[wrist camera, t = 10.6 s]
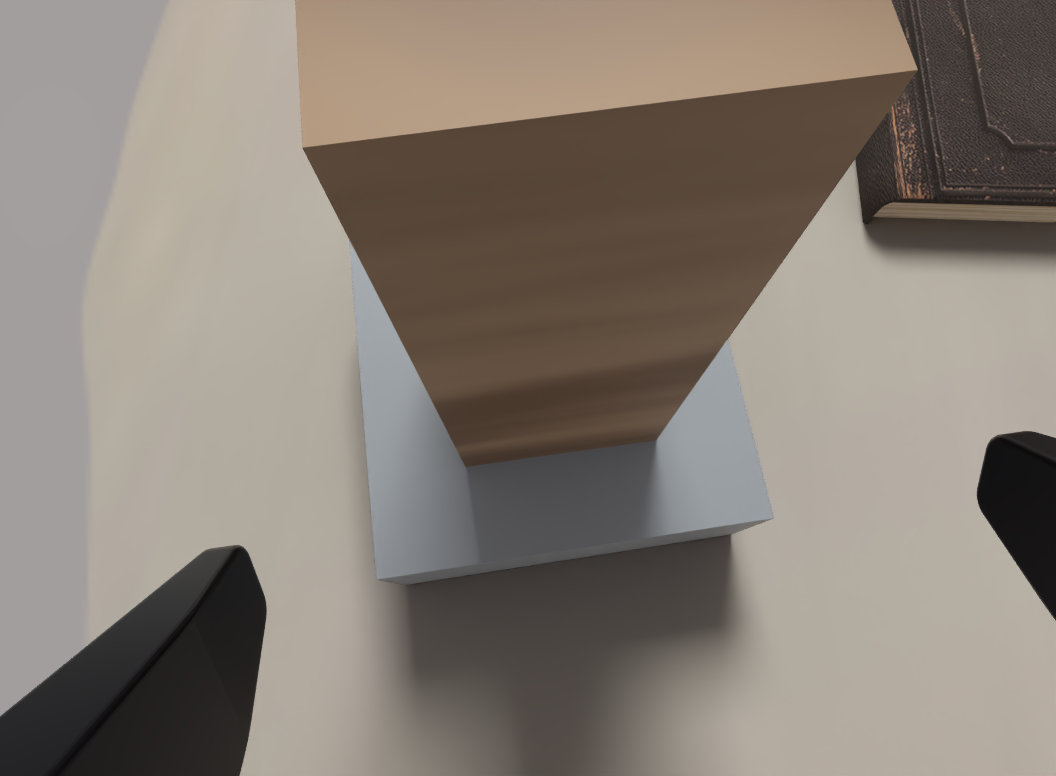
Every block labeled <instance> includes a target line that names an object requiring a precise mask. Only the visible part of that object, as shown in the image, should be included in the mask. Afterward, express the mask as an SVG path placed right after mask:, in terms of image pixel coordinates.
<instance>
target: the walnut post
mask: <svg viewBox="0 0 1056 776" xmlns="http://www.w3.org/2000/svg"><path fill="white" fill-rule="evenodd" d="M295 6H296V27H297V47H298V68H299V88H300V109H301V129H302V148H303V150H304V152H305V154H306V156H307V158H308V160H309V162H310V163H311V165H312V167H313V169H314V171H315V173H316V175H317V177H318V179H319V181H320V183H321V185H322V187H323V189H324V191H325V193H326V195H327V197H328V199H329V201H330V203H331V205H332V207H333V209H334V210H335V212H336V214H337V216H338V218H339V220H340V222H341V224H342V226H343V228H344V230H345V232H346V234H347V236H348V238H349V240H350V242H351V244H352V246H353V248H354V250H355V252H356V254H357V256H358V257H359V259H360V261H361V263H362V265H363V267H364V269H365V271H366V273H367V275H368V277H369V279H370V281H371V283H372V285H373V287H374V289H375V291H376V293H377V295H378V297H379V299H380V301H381V303H382V305H383V306H384V308H385V310H386V312H387V314H388V316H389V318H390V320H391V322H392V324H393V326H394V328H395V330H396V332H397V334H398V336H399V338H400V340H401V342H402V344H403V346H404V348H405V350H406V352H407V353H408V355H409V357H410V359H411V361H412V363H413V365H414V367H415V369H416V371H417V373H418V375H419V377H420V379H421V381H422V383H423V385H424V387H425V389H426V391H427V393H428V395H429V397H430V399H431V400H432V402H433V404H434V406H435V408H436V410H437V412H438V414H439V416H440V418H441V420H442V422H443V424H444V426H445V428H446V430H447V432H448V434H449V436H450V438H451V440H452V442H453V444H454V446H455V448H456V449H457V451H458V453H459V455H460V457H461V459H462V461H463V463H464V465H465V467H469V466H476V465H483V464H490V463H497V462H504V461H511V460H518V459H525V458H533V457H540V456H547V455H554V454H561V453H568V452H575V451H582V450H589V449H596V448H604V447H611V446H618V445H625V444H632V443H639V442H646V441H653V440H657V439H658V437H659V436H660V434H661V433H662V432H663V430H664V429H665V427H666V426H667V425H668V423H669V422H670V420H671V419H672V417H673V416H674V415H675V413H676V412H677V410H678V409H679V408H680V406H681V405H682V403H683V402H684V400H685V399H686V398H687V396H688V395H689V393H690V392H691V391H692V389H693V388H694V386H695V385H696V383H697V382H698V381H699V379H700V378H701V376H702V375H703V374H704V372H705V371H706V369H707V368H708V366H709V365H710V364H711V362H712V361H713V359H714V358H715V357H716V355H717V354H718V352H719V351H720V349H721V348H722V347H723V345H724V344H725V342H726V341H727V340H728V338H729V337H730V335H731V334H732V332H733V331H734V330H735V328H736V327H737V325H738V324H739V323H740V321H741V320H742V318H743V317H744V315H745V314H746V313H747V311H748V310H749V308H750V307H751V306H752V304H753V303H754V301H755V300H756V298H757V297H758V296H759V294H760V293H761V291H762V290H763V289H764V287H765V286H766V284H767V283H768V281H769V280H770V279H771V277H772V276H773V274H774V273H775V272H776V270H777V269H778V267H779V266H780V264H781V263H782V262H783V260H784V259H785V257H786V256H787V255H788V253H789V252H790V250H791V249H792V247H793V246H794V245H795V243H796V242H797V240H798V239H799V238H800V236H801V235H802V233H803V232H804V230H805V229H806V228H807V226H808V225H809V223H810V222H811V221H812V219H813V218H814V216H815V215H816V213H817V212H818V211H819V209H820V208H821V206H822V205H823V204H824V202H825V201H826V199H827V198H828V196H829V195H830V194H831V192H832V191H833V189H834V188H835V187H836V185H837V184H838V182H839V181H840V179H841V178H842V177H843V175H844V174H845V172H846V171H847V170H848V168H849V167H850V165H851V164H852V162H853V161H854V160H855V158H856V157H857V155H858V154H859V153H860V151H861V150H862V148H863V147H864V145H865V144H866V143H867V141H868V140H869V138H870V137H871V136H872V134H873V133H874V131H875V130H876V128H877V127H878V126H879V124H880V123H881V121H882V120H883V119H884V117H885V116H886V114H887V113H888V111H889V110H890V109H891V107H892V106H893V104H894V103H895V102H896V100H897V99H898V97H899V96H900V94H901V93H902V92H903V90H904V89H905V87H906V86H907V85H908V83H909V82H910V80H911V79H912V77H913V76H914V75H915V73H916V72H917V70H918V69H917V66H916V64H915V61H914V59H913V56H912V53H911V51H910V48H909V46H908V43H907V40H906V38H905V35H904V33H903V30H902V27H901V25H900V22H899V19H898V17H897V14H896V12H895V9H894V6H893V4H892V1H891V0H295Z"/></svg>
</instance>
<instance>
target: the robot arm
mask: <svg viewBox="0 0 1056 776" xmlns="http://www.w3.org/2000/svg"><path fill="white" fill-rule="evenodd" d="M977 500H978V504H979V507H980V509H981V511H982V513H983V515H984V516H985V518H986V519H987V521H988V522H989V524H990V525H991V526H992V528H993V529H994V531H995V532H996V534H997V535H998V537H999V538H1000V540H1001V541H1002V543H1003V544H1004V546H1005V547H1006V549H1007V550H1008V552H1009V553H1010V555H1011V556H1012V558H1013V559H1014V561H1015V562H1016V564H1017V565H1018V567H1019V568H1020V570H1021V571H1022V573H1023V574H1024V576H1025V577H1026V579H1027V580H1028V581H1029V583H1030V584H1031V586H1032V587H1033V589H1034V590H1035V592H1036V593H1037V595H1038V596H1039V598H1040V599H1041V601H1042V602H1043V604H1044V605H1045V606H1046V608H1047V609H1048V611H1049V612H1050V613H1051V615H1052V616H1053V618H1054V619H1055V620H1056V438H1054V437H1050V436H1047V435H1043V434H1040V433H1036V432H1032V431H1022V432H1015V433H1008V434H1001V435H997V436H995V437H993V438H992V439H991V440H990V442H989V443H988V445H987V448H986V452H985V456H984V461H983V465H982V470H981V474H980V478H979V483H978V487H977ZM266 613H267V608H266V600H265V596H264V593H263V591H262V588H261V585H260V583H259V580H258V577H257V575H256V572H255V569H254V567H253V564H252V561H251V559H250V556H249V554H248V552H247V551H246V549H245V548H244V547H242V546H240V545H233V546H226V547H219V548H212V549H208V550H205V551H204V552H202V553H201V554H200V555H199V556H197V557H196V558H195V559H194V560H192V561H191V562H190V563H189V564H187V565H186V566H185V567H184V568H183V569H181V570H180V571H179V572H178V573H176V574H175V575H174V576H173V577H171V578H170V579H169V580H168V581H166V582H165V583H164V584H163V585H162V586H160V587H159V588H158V589H157V590H155V591H154V592H153V593H152V594H150V595H149V596H148V597H147V598H146V599H144V600H143V601H142V602H141V603H139V604H138V605H137V606H136V607H134V608H133V609H132V610H131V611H129V612H128V613H127V614H126V615H125V616H123V617H122V618H121V619H120V620H118V621H117V622H116V623H115V624H113V625H112V626H111V627H110V628H108V629H107V630H106V631H105V632H104V633H102V634H101V635H100V636H99V637H97V638H96V639H95V640H94V641H92V642H91V643H90V644H89V645H88V646H86V647H85V648H84V649H83V650H81V651H80V652H79V653H78V654H76V655H75V656H74V657H73V658H71V659H70V660H69V661H68V662H67V663H66V664H64V665H63V666H62V667H60V668H59V669H58V670H57V671H55V672H54V673H53V674H52V675H50V676H49V677H48V678H47V679H46V680H45V681H43V682H42V683H41V684H39V685H38V686H37V687H36V688H34V689H33V690H32V691H31V692H29V693H28V694H27V695H26V696H25V697H23V698H22V699H21V700H20V701H18V702H17V703H16V704H15V705H13V706H12V707H11V708H10V709H9V710H7V711H6V712H5V713H4V714H2V715H1V716H0V776H239V775H240V772H241V768H242V764H243V760H244V755H245V751H246V747H247V742H248V737H249V731H250V726H251V720H252V713H253V706H254V699H255V692H256V685H257V678H258V671H259V664H260V658H261V651H262V644H263V637H264V630H265V623H266Z"/></svg>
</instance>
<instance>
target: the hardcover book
mask: <svg viewBox="0 0 1056 776" xmlns="http://www.w3.org/2000/svg"><path fill="white" fill-rule="evenodd" d="M891 1H892V4H893V6H894V9H895V12H896V14H897V17H898V19H899V22H900V25H901V27H902V30H903V33H904V35H905V38H906V40H907V43H908V46H909V48H910V51H911V53H912V56H913V59H914V61H915V64H916V66H917V69H918V70H917V72H916V73H915V75H914V76H913V77H912V79H911V80H910V82H909V83H908V85H907V86H906V87H905V89H904V90H903V92H902V93H901V94H900V96H899V97H898V99H897V100H896V102H895V103H894V104H893V106H892V107H891V109H890V110H889V111H888V113H887V114H886V116H885V117H884V119H883V120H882V121H881V123H880V124H879V126H878V127H877V128H876V130H875V131H874V133H873V134H872V136H871V137H870V138H869V140H868V141H867V143H866V144H865V145H864V147H863V148H862V150H861V151H860V153H859V154H858V155H857V157H856V166H857V174H858V183H859V191H860V200H861V208H862V217H863V222H864V223H865V224H869V222H870V221H871V219H872V218H873V217H893V218H926V219H958V220H991V221H1024V222H1056V0H891Z"/></svg>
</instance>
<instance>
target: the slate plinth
mask: <svg viewBox="0 0 1056 776" xmlns="http://www.w3.org/2000/svg"><path fill="white" fill-rule="evenodd" d="M349 246H350V258H351V270H352V283H353V295H354V308H355V320H356V333H357V345H358V358H359V370H360V383H361V395H362V408H363V420H364V432H365V445H366V457H367V470H368V482H369V495H370V507H371V520H372V532H373V545H374V557H375V570H376V580H381V581H387V582H392V583H398V584H404V585H408V584H415V583H421V582H428V581H434V580H441V579H447V578H453V577H460V576H466V575H473V574H479V573H486V572H492V571H499V570H505V569H511V568H518V567H524V566H531V565H537V564H544V563H550V562H557V561H563V560H569V559H576V558H582V557H589V556H595V555H602V554H608V553H615V552H621V551H627V550H634V549H640V548H647V547H653V546H660V545H666V544H673V543H679V542H685V541H692V540H698V539H705V538H711V537H718V536H724V535H731V534H734V533H736V532H739V531H742V530H744V529H747V528H749V527H752V526H755V525H757V524H760V523H762V522H765V521H768V520H770V519H773V518H774V516H773V512H772V508H771V504H770V501H769V497H768V493H767V489H766V485H765V481H764V477H763V473H762V469H761V465H760V461H759V457H758V454H757V450H756V446H755V442H754V438H753V434H752V430H751V426H750V422H749V418H748V414H747V410H746V407H745V403H744V399H743V395H742V391H741V387H740V383H739V379H738V375H737V371H736V367H735V363H734V360H733V356H732V352H731V348H730V344H729V340H727V341H726V342H725V344H724V345H723V347H722V348H721V349H720V351H719V352H718V354H717V355H716V357H715V358H714V359H713V361H712V362H711V364H710V365H709V366H708V368H707V369H706V371H705V372H704V374H703V375H702V376H701V378H700V379H699V381H698V382H697V383H696V385H695V386H694V388H693V389H692V391H691V392H690V393H689V395H688V396H687V398H686V399H685V400H684V402H683V403H682V405H681V406H680V408H679V409H678V410H677V412H676V413H675V415H674V416H673V417H672V419H671V420H670V422H669V423H668V425H667V426H666V427H665V429H664V430H663V432H662V433H661V434H660V436H659V437H658V439H657V440H653V441H646V442H639V443H632V444H625V445H618V446H611V447H604V448H596V449H589V450H582V451H575V452H568V453H561V454H554V455H547V456H540V457H533V458H525V459H518V460H511V461H504V462H497V463H490V464H483V465H476V466H469V467H465V465H464V463H463V461H462V459H461V457H460V455H459V453H458V451H457V449H456V448H455V446H454V444H453V442H452V440H451V438H450V436H449V434H448V432H447V430H446V428H445V426H444V424H443V422H442V420H441V418H440V416H439V414H438V412H437V410H436V408H435V406H434V404H433V402H432V400H431V399H430V397H429V395H428V393H427V391H426V389H425V387H424V385H423V383H422V381H421V379H420V377H419V375H418V373H417V371H416V369H415V367H414V365H413V363H412V361H411V359H410V357H409V355H408V353H407V352H406V350H405V348H404V346H403V344H402V342H401V340H400V338H399V336H398V334H397V332H396V330H395V328H394V326H393V324H392V322H391V320H390V318H389V316H388V314H387V312H386V310H385V308H384V306H383V305H382V303H381V301H380V299H379V297H378V295H377V293H376V291H375V289H374V287H373V285H372V283H371V281H370V279H369V277H368V275H367V273H366V271H365V269H364V267H363V265H362V263H361V261H360V259H359V257H358V256H357V254H356V252H355V250H354V248H353V246H352V244H351V242H350V240H349Z"/></svg>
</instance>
